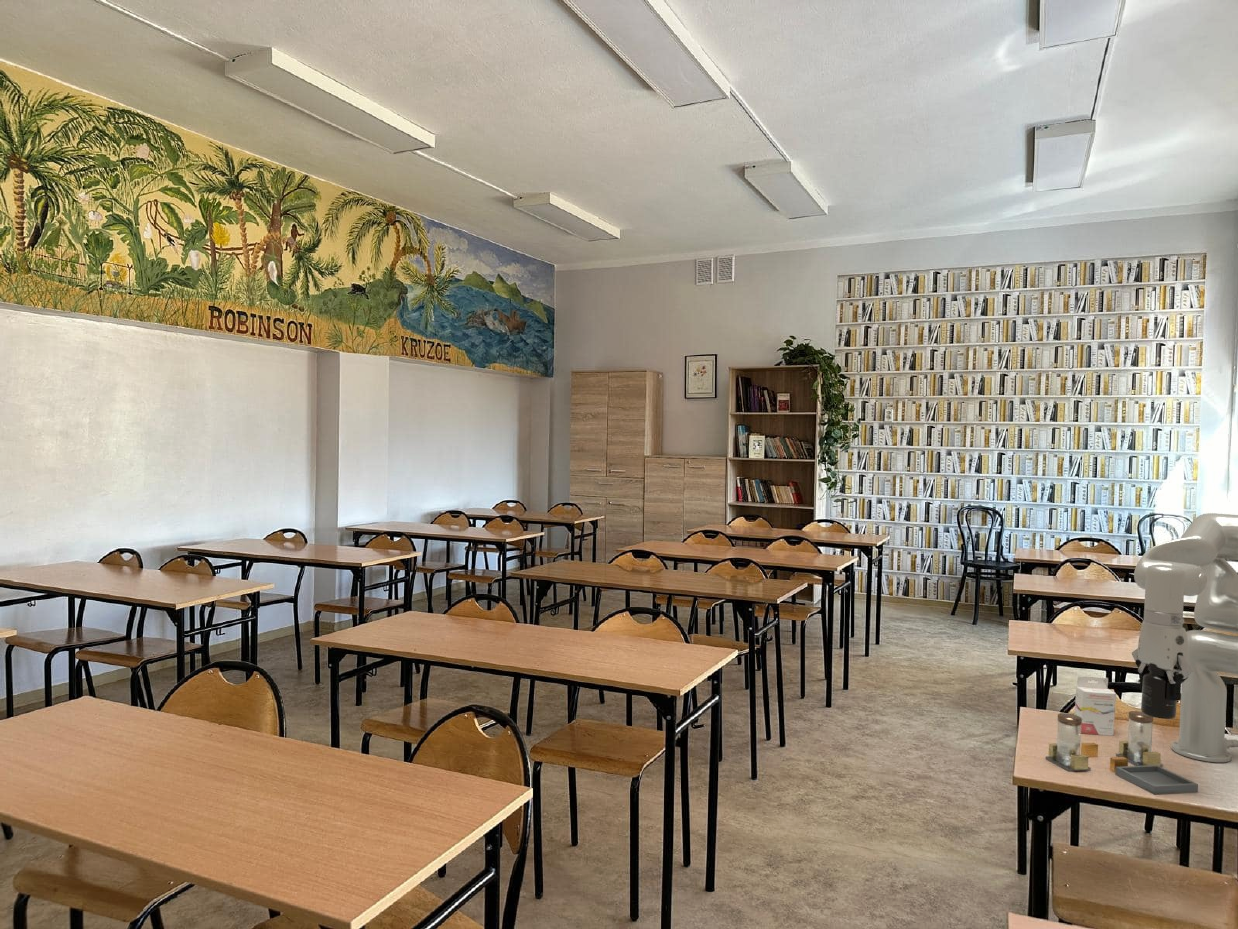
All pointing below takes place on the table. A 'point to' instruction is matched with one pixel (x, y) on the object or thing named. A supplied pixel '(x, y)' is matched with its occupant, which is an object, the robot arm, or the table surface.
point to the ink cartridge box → (1095, 706)
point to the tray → (1156, 779)
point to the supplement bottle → (1156, 694)
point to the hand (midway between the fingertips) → (1159, 694)
